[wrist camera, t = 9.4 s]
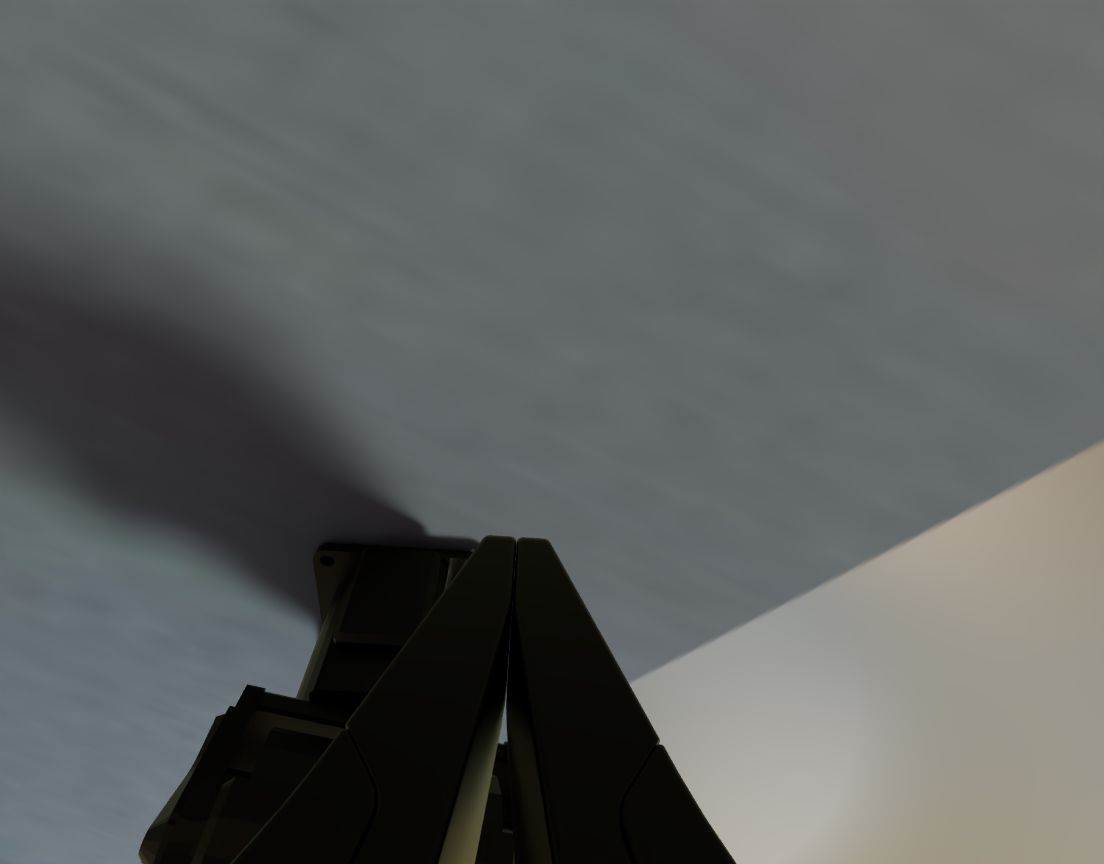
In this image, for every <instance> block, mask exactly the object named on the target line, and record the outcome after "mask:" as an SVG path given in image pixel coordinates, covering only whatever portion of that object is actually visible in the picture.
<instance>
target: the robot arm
mask: <svg viewBox="0 0 1104 864" xmlns="http://www.w3.org/2000/svg"><path fill="white" fill-rule="evenodd" d="M326 555H327V556H330V557H332V558H327V557H326ZM515 557H516V561H515ZM313 563H314V570H315V576H316V583H317V590H318V597H319V604H320V610H321V617H322V624H323V626H322V629H321V632H320V634H319V637H318V640H317V642H316V645H315V648H314V651H313V653H312V656H311V659H310V661H309V664H308V667H307V669H306V672H305V675H304V678H303V680H302V683H301V686H300V688H299V691H298V694H297V697H296V698H292V697H287V696H283V695H278V694H274V693H269V692H265V689H266V688H261V687H257V686H252V685H248V684H247V686H246V688H245V689H244V691H243V693H242V695H241V697H240V699H239V701H238V702H237V704H236V706H235V707H233V706H230V707H229V708H228V710H227V712H226V714H223V715H220V716H217V717H216V718H215V720H214V723H213V725H212V727H211V729H210V731H209V733H208V735H207V737H206V739H205V742H204V744H203V746H202V748H201V750H200V752H199V754H198V756H197V758H196V760H195V762H194V764H193V766H192V767H191V769H190V771H189V772H188V774H187V775H186V777H185V778H184V780H183V781H182V782H181V784H180V785H179V787H178V788H177V790H176V791H175V792H174V794H173V795H172V797H171V798H170V799H169V801H168V802H167V804H166V805H165V806H164V808H163V809H162V811H161V812H160V814H159V815H158V816H157V818H156V819H155V821H154V822H153V823H152V825H151V826H150V828H149V829H148V831H147V833H146V835H145V837H144V839H143V842H142V844H141V847H140V850H139V858H140V860H141V863H142V864H736V862H735V861H734V859H733V858H732V856H731V855H730V853H729V852H728V850H727V849H726V847H725V846H724V845H723V843H722V842H721V840H720V839H719V837H718V836H717V834H716V833H715V831H714V830H713V828H712V827H711V825H710V824H709V822H708V821H707V819H706V818H705V816H704V815H703V813H702V811H701V809H700V808H699V806H698V804H697V803H696V801H695V799H694V798H693V796H692V795H691V793H690V791H689V789H688V788H687V786H686V784H685V783H684V781H683V779H682V778H681V776H680V774H679V773H678V771H677V769H676V767H675V765H674V764H673V762H672V760H671V758H670V756H669V755H668V753H667V751H666V749H665V747H664V746H663V745H659V742H660V739H659V737H658V735H657V734H656V732H655V730H654V728H653V726H652V725H651V723H650V721H649V719H648V717H647V716H646V714H645V712H644V710H643V708H642V707H641V705H640V703H639V701H638V699H637V698H636V696H635V694H634V692H633V691H632V689H631V687H630V685H629V683H628V681H627V680H626V678H625V676H624V674H623V672H622V671H621V669H620V667H619V665H618V663H617V662H616V660H615V658H614V656H613V654H612V653H611V651H610V649H609V647H608V645H607V644H606V642H605V640H604V638H603V636H602V635H601V633H600V631H599V629H598V628H597V626H596V624H595V622H594V620H593V619H592V617H591V615H590V613H589V611H588V610H587V608H586V606H585V604H584V602H583V601H582V599H581V597H580V595H579V593H578V592H577V590H576V588H575V586H574V584H573V583H572V581H571V579H570V577H569V575H568V574H567V572H566V570H565V568H564V566H563V565H562V563H561V561H560V559H559V557H558V556H557V554H556V552H555V550H554V548H553V547H552V545H551V543H550V542H549V541H548V540H547V539H541V538H525V537H522V538H519V539H518V541H517V547H516V540H515V538H514V537H509V536H493V535H488V536H486V537H484V538H483V539H482V541H481V542H480V543H479V545H478V546H477V547H476V549H475V550H474V551H473V552H472V551H455V550H438V549H422V548H405V547H389V546H372V545H355V544H339V543H323V544H321V545H319V546H318V548H317V549H316V552H315V554H314V557H313ZM514 572H515V575H514ZM513 588H514V590H513ZM512 602H513V604H512ZM511 616H512V619H511ZM510 631H511V634H510ZM509 645H510V649H509ZM508 659H509V664H508ZM507 673H508V678H507ZM506 687H507V698H506V715H507V737H508V742H506V741H505V742H504V744H501V743H498V740H499V735H500V730H501V725H502V719H503V713H504V706H505V697H506Z"/></svg>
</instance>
